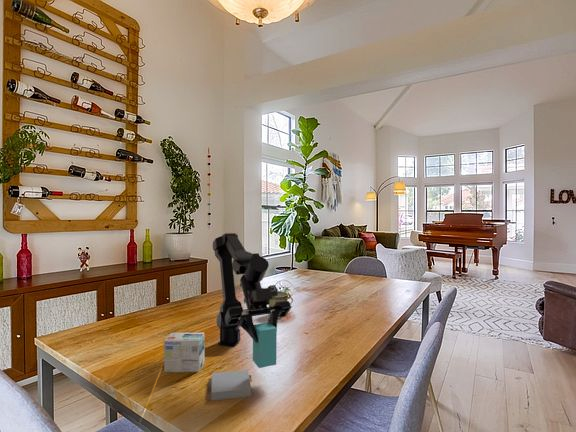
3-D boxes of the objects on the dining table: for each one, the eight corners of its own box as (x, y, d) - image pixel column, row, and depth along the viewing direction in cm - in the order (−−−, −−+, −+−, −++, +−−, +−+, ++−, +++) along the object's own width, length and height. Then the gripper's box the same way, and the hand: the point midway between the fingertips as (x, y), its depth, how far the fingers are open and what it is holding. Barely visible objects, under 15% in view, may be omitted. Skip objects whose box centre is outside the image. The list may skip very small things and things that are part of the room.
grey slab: (211, 380, 92) (211, 373, 92) (247, 376, 94) (247, 369, 94) (211, 400, 83) (211, 392, 82) (251, 396, 85) (251, 388, 85)
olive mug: (262, 316, 151) (262, 294, 151) (273, 310, 160) (273, 290, 160) (287, 321, 145) (287, 298, 145) (297, 314, 154) (297, 293, 153)
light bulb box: (205, 365, 104) (205, 331, 103) (200, 376, 97) (200, 340, 97) (170, 365, 103) (170, 331, 103) (163, 376, 96) (163, 340, 96)
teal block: (252, 360, 92) (253, 325, 92) (269, 356, 95) (269, 322, 94) (259, 368, 88) (259, 331, 88) (276, 364, 90) (276, 328, 90)
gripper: (227, 278, 90) (240, 332, 80) (288, 273, 98) (306, 321, 89) (220, 299, 97) (230, 351, 88) (277, 293, 106) (293, 339, 96)
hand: (266, 340), depth 90 cm, fingers closed on teal block, 5 cm apart
